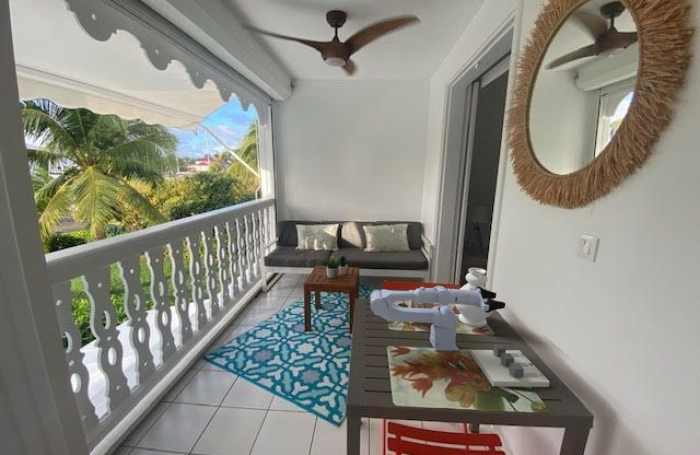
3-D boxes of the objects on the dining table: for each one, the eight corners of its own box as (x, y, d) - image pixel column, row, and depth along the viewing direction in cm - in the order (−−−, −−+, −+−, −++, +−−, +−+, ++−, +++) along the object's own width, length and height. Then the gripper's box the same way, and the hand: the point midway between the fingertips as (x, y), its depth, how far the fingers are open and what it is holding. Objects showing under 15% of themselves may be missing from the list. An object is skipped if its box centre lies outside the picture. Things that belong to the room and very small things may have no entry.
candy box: (423, 318, 138) (425, 288, 135) (428, 322, 134) (430, 291, 131) (406, 320, 136) (408, 289, 133) (410, 324, 132) (412, 293, 129)
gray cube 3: (513, 377, 95) (514, 369, 94) (508, 371, 98) (509, 363, 97) (522, 377, 95) (524, 369, 94) (517, 371, 98) (518, 363, 97)
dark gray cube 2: (505, 366, 100) (505, 358, 100) (500, 360, 103) (501, 353, 103) (513, 366, 100) (514, 358, 100) (508, 360, 103) (509, 353, 103)
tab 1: (497, 356, 106) (497, 349, 105) (493, 351, 108) (493, 344, 108) (505, 356, 106) (506, 349, 105) (500, 351, 108) (501, 344, 108)
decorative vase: (486, 312, 144) (491, 265, 140) (498, 331, 127) (504, 278, 122) (449, 309, 147) (453, 263, 142) (456, 327, 130) (461, 275, 125)
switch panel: (493, 386, 94) (493, 380, 93) (471, 354, 110) (471, 349, 110) (548, 386, 94) (549, 381, 93) (518, 354, 110) (519, 349, 110)
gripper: (473, 297, 104) (511, 300, 103) (460, 280, 118) (494, 282, 117) (470, 314, 106) (507, 317, 105) (458, 295, 120) (490, 298, 119)
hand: (500, 300), depth 112 cm, fingers open, 7 cm apart
